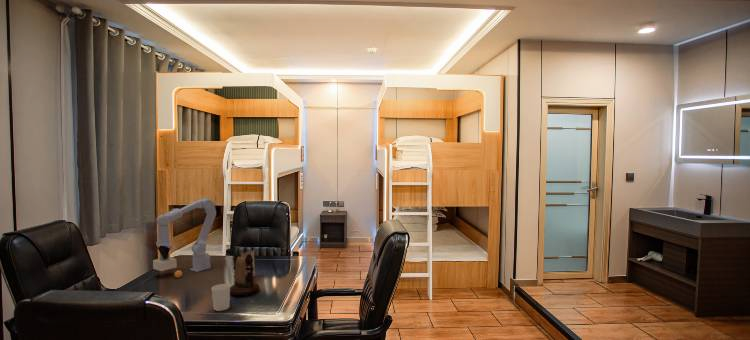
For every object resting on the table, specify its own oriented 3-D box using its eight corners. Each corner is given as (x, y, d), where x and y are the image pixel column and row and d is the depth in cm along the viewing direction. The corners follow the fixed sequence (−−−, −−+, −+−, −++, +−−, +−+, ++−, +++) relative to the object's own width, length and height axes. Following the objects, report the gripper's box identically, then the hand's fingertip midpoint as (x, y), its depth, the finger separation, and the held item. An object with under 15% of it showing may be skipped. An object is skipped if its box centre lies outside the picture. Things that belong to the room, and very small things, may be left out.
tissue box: (168, 264, 225) (168, 251, 225) (176, 267, 220) (176, 254, 220) (153, 268, 218) (152, 255, 217) (160, 271, 213) (160, 257, 212)
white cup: (224, 312, 168) (223, 290, 168) (208, 311, 170) (207, 289, 169) (234, 305, 176) (233, 284, 175) (219, 304, 177) (218, 283, 177)
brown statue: (222, 296, 187) (221, 256, 186) (241, 285, 201) (240, 249, 200) (247, 299, 183) (246, 259, 182) (264, 288, 197) (263, 251, 196)
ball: (180, 275, 219) (179, 269, 219) (183, 277, 217) (183, 270, 216) (173, 277, 216) (172, 270, 215) (176, 279, 213) (176, 272, 213)
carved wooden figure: (253, 275, 218) (252, 249, 218) (262, 277, 214) (261, 251, 214) (237, 281, 208) (236, 254, 208) (246, 283, 205) (245, 256, 204)
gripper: (150, 235, 219) (151, 258, 220) (162, 238, 211) (164, 262, 211) (162, 233, 225) (163, 255, 225) (175, 236, 216) (176, 259, 217)
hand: (164, 258), depth 219 cm, fingers closed on tissue box
